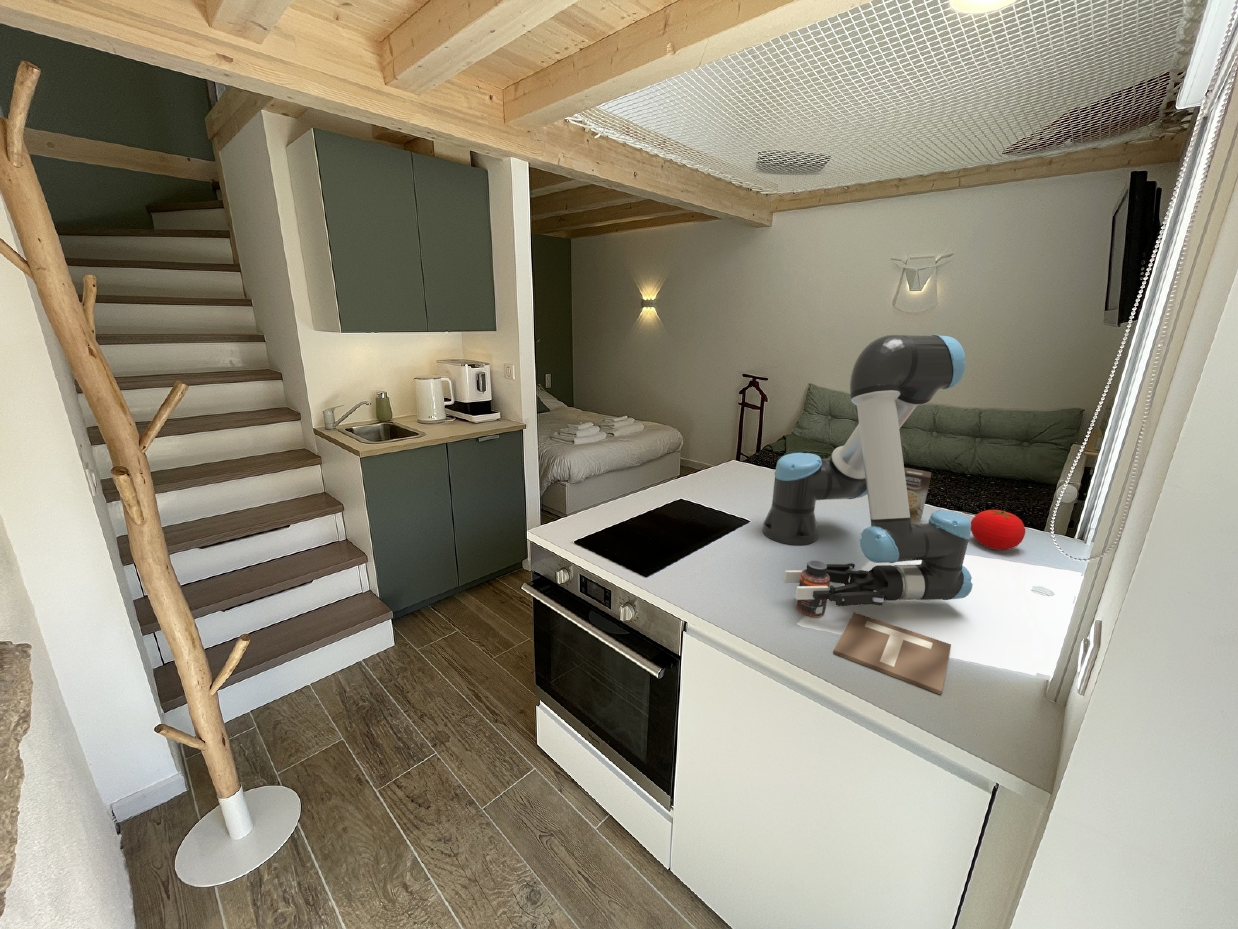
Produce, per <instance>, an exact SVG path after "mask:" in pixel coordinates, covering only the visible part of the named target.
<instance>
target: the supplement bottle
mask: <svg viewBox="0 0 1238 929" xmlns="http://www.w3.org/2000/svg"><path fill="white" fill-rule="evenodd" d="M826 564H827V563H825V562H823V561H821V560H815V559H814V560H809V561H807V564H806V568H804V569H802V570H803V571H802V572H801V577H800V583H798V586H828V588H829V589H828V590H830V583H831V582H830V577H829V575H828V574H827V573H826V572H827V565H826ZM827 601H828V600H816V599H807V600H796V610H798V612H800V613H801V614H802V615H803V616H804V615H805V616H807V617H810V618H820V617H821V616H824V614H825V612H826V607H827Z"/></svg>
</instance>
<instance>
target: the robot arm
mask: <svg viewBox="0 0 1238 929" xmlns="http://www.w3.org/2000/svg"><path fill="white" fill-rule="evenodd" d="M966 366H967V363H966V354H965V350H964V348H963V345H961V343H960V342H959V341H958V340H957V339H956V338H954V337H951V336H948V335H939V334H935V333H934V334H931V335H909V334H908V335H901V334H890V335H889V334H888V335H884V336H880V337H877V339H876V338H875V339H874V340H873V341H872V342H870V343H869V344H867V345H866V346H865V347H864V348H863V350H861V352H860V354H858V356H857V358H856V360H855V363H854V365H853V367H852V371H851V375H850V381H849V392H850V393H849V394H850V401H851V403H853V404H854V405H855V406H856V409H857V418H858V424H857V425H856V427H855V429H854V430H853V431H852V433H851V434H850V436H849V438H848V439H847V441H846V442H845V444H844V445H840V446H837V447H836V448H835V449H834V450H833V451H832V453H831V454H830V456H829V457H828V458H821V456H819V455H818V454H815V453H809V452H806V453H804V452H792V453H788V454H786V455H783V456H781V457H780V458H779V459H778V460H777V462H776V466H775V471H774V480H773V481H774V482H773V492H772V499H771V500H772V501H771V507H770V509H769V511H768V513H767V514H766V517H765V519H764V522H763V525H762V526H763V527H762V533H763V534H764V535H765V536H766V537H768V538H769V539H771V540H773V541H776V542H778V543H782V544H785V545H786V544H787V545H796V546H803V545H805V546H806V545H810V544H813V543H815V542H816V541H817V540H818V534H819V527H818V525H817V524H818V523H817V519H816V514H815V510H816V508H815V507H816V502H817V501H824V500H826V501H827V500H828V501H829V500H854V499H857V498H858V499H859V498H862V497H865V496H867V500H868V501H867V502H868V510H869V518H870V526H868V527H866V528H864V529H863V531H862V532H861V533H860V539H859V545H860V549H861V550H860V551H861V552H862V554H863V555H864V557H865V558H866V559H867V560H868V561H870V562H872V563H876V564H877V563H878V564H879V563H880V564H879V565H874V566H872V568H871V569H869V570H863V569H857V568H856V567H855V566H856V564H855V563H853V562H849V563H845V564H843V563H842V564H841V563H839V564H836V563H825V564H826V565H827V572H826V573H827V574H828V575H829V577H830V583H832V584H841V585H839V586H833V585H832V584H831V585H829V588H828V586H799V585H798V586H796V589H795V597H794V599H795V600H796V601H797V600H807V599H816V600H827V601H829V602H834V604H835V606H837V607H849V606H853V607H854V606H866V605H867V606H868V605H869V606H870V605H873V606H883V604H884V602H887V601H888V602H891V601H920V600H921V601H922V600H924V601H933V600H938V601H939V600H941V601H942V600H943V601H950V600H960V599H964V598H967V597H968V596H969V595H970V593H971V592H972V591H973V590H972V589H973V584H974V583H973V582H972V579H973V578H972V574H971V572H970V571H969V570H968V568H966V566H964V565H963V564H964V561H965V556H966V552H967V548H968V544H969V541H970V540H971V537H970V535H971V532H972V531H971V520H970V519H969V517H966V516H964V515H962V514H961V513H957V512H954V511H950V510H935V511H934V512H932V513H931V514H930V516H929V519H928V522H927V523H920V524H911V521H910V512H909V503H908V495H907V487H906V479H905V471H904V468H905V466H904V457H903V448H902V440H901V433H900V432H901V431H900V429H901V428H902V426H903V425H904V424H905V422H906V421H907V420H908V419H909V417H910V416H911V415H912V413H913V411H914V410H915V409H916V408H917V406H923V405H926V404H928V403H929V402H930V401H931V400H932V399H933V397H934V396H935V395H936V394H937V392H939V390H947V389H950V388H953V387H956V385H958V384H959V383H960V381H961V380H962V379H963V377H964V374H965V372H966ZM911 561H912V562H913V561H920V562H921V563H919V564H895V563H901V562H902V563H903V562H911ZM882 563H884V565H883V564H882ZM885 563H889V564H885ZM891 564H893V565H891ZM803 570H804V569H797V570H796V569H795V570H784V577H783V583H784V584H799V583H800V577H801V572H802V571H803ZM828 589H829V590H828Z"/></svg>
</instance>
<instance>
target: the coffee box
mask: <svg viewBox="0 0 1238 929" xmlns="http://www.w3.org/2000/svg"><path fill="white" fill-rule="evenodd" d="M904 471H905V479H906V487H907V495H908V503H909V512H910V521H911V524H921V521H922V518H923V514H924V508H925V505H926V504H925V503H926V501H927V500H926V499H927V495H928V491H929V487H930V483H931V482H930V481H931V477H932V472H931V471H925V470H920V469H914V468H909V467H904Z"/></svg>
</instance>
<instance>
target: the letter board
mask: <svg viewBox="0 0 1238 929" xmlns="http://www.w3.org/2000/svg"><path fill="white" fill-rule="evenodd" d="M951 648H952V644H951V643H948V642H945V641H942V640H939V639H937V638H933V637H930V636H927V635H924V634H921V633H920V632H919V633H918V632H915V631H912V630H910V629H907V628H903V627H900V626H897V625H895V624H892V623H888V622H885V621H882V620H880V619H877V618H873V617H871V616H867V615H864V614H861V613H858V612H855V611H853V613H852V615H851V617H850V619H849V621H848V622H847V624H846V626H845V628H844V630H843V631H842V634H841V635H840V637H839V639H838V641H837V643H836V645H835V647H834V648H833V650H832V654H834V655H836V656H838V657H842V658H844V659H846V660H849V661H851V662H854V663H857V664H860V665H862V666H864V667H867V668H870V669H872V670H875V671H878V672H880V673H883V674H886V675H887V676H891V677H892V678H896V679H899V680H902V682H903V681H904V682H906V683H907V684H908V683H909V684H911V685H914V686H916V687H919V688H922V689H924V690H927V691H930V692H932V693H934V694H938V695H940V696H941V695H942V693H943V690H944V689H943V688H944V685H945V684H944V683H945V677H946V673H947V669H948V668H947V667H948V664H949V657H950V653H951Z"/></svg>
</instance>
